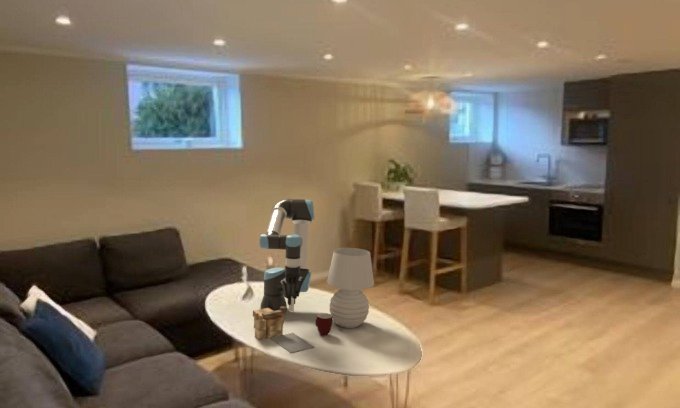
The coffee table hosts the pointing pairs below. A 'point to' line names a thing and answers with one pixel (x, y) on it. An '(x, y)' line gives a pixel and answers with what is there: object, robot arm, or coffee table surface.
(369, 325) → the coffee table surface
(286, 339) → the mat
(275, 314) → the key
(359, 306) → the table lamp
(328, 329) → the mug
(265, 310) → the lid
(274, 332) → the open wooden box
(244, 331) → the coffee table surface
